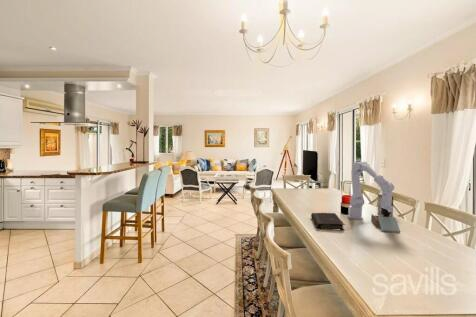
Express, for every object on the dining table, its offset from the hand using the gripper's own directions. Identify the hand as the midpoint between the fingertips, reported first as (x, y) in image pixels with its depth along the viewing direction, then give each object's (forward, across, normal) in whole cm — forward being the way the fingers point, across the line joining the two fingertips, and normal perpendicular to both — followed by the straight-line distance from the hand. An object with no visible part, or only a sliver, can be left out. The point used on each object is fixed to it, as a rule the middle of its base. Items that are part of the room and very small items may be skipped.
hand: (385, 219), depth 167 cm
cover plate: (+2, -6, 0) cm, 6 cm away
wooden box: (+5, +5, 0) cm, 7 cm away
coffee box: (+5, +32, -9) cm, 34 cm away
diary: (+6, -4, +39) cm, 40 cm away
